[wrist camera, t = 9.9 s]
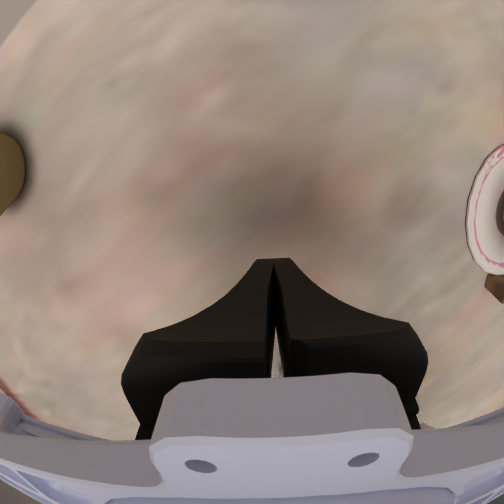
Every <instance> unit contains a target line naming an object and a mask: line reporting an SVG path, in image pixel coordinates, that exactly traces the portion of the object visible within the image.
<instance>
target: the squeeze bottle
mask: <svg viewBox="0 0 504 504" xmlns="http://www.w3.org/2000/svg"><path fill="white" fill-rule="evenodd" d="M24 177H25V164H24V157H23V154H22V151H21V148H20V146H19V145H18V144H17V142H16V141H15V139H14V138H12V137H10V136H8V135H5V134H2V133H0V216H1V215H2V213H3V212H4V211H5V210H6V209H7V207H8V206H9V205H10V204H11V203H12V202H13V200H14V199H15V198H16V197H17V196H18V194H19V192H20V190H21V189H22V187H23V182H24Z"/></svg>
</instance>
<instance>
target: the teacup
mask: <svg viewBox="0 0 504 504" xmlns="http://www.w3.org/2000/svg"><path fill="white" fill-rule="evenodd" d="M503 191H504V145H502V146H499V147H498V148H497V149H496V150H495V151H494V152H493V153H492V154H491V155H489V156H488V157H487V158H486V160H485V161H484V163H483V165H482V167H481V168H480V170H479V172H478V174H477V175H476V177H475V180H474V183H473V187H472V190H471V193H470V196H469V199H468V207H467V216H466V232H467V242H468V246H469V249H470V251H471V254H472V256H473V259H474V261H475V262H476V263H477V264H478V265H479V266H480V267H481V268H482V269H483V270H484V271H485V272H488V273H491V274H494V275H503V274H504V235H502V234H501V233H500V231H499V230H498V227H497V224H496V208H497V204H498V201H499V198H500V196H501V194H502V193H503ZM503 219H504V210H503Z"/></svg>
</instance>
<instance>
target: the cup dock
mask: <svg viewBox="0 0 504 504" xmlns="http://www.w3.org/2000/svg"><path fill="white" fill-rule="evenodd" d="M485 287H486V288H487V289H488V290H489V291H490V292H491V293H492V294H493V295H494V296H495V297H496V298H497V299H498V300H499V301H500V302H501V303H504V274H503V275H494V274H489V275H488V276H487V279H486V283H485Z"/></svg>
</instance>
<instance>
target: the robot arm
mask: <svg viewBox="0 0 504 504" xmlns="http://www.w3.org/2000/svg"><path fill="white" fill-rule="evenodd" d="M275 327H276V332H277V338H278V344H279V351H280V357H281V363H282V377H278V378H271V370H272V360H273V350H274V339H275ZM427 366H428V356H427V352H426V350H425V348H424V346H423V345H422V343H421V341H420V339H419V337H418V335H417V334H416V332H415V331H414V330H413V328H412V327H411V325H410V324H409V323H407V322H403V321H398V320H393V319H388V318H384V317H380V316H377V315H374V314H370V313H367V312H365V311H362V310H359V309H357V308H355V307H352V306H350V305H348V304H346V303H344V302H342V301H340V300H338V299H337V298H335V297H333V296H332V295H330V294H328V293H327V292H325V291H324V290H323V289H321V288H320V287H319V286H317V285H316V284H315V283H314V282H312V281H311V280H310V279H309V278H308V277H307V276H306V275H305V274H304V273H303V272H302V271H301V270H300V269H299V268H298V266H297V265H296V264H295V263H294V262H293V261H292V260H291V259H290V258H275V259H257V260H256V261H255V262H254V263H253V264H252V266H251V267H250V269H249V270H248V271H247V273H246V274H245V275H244V276H243V278H242V279H241V280H240V281H239V282H238V283H237V284H236V285H235V286H234V287H233V288H232V289H231V290H230V291H229V292H228V293H227V294H226V295H225V296H224V297H222V298H221V299H220V300H218V301H217V302H216V303H214V304H213V305H211V306H210V307H208V308H206V309H205V310H203V311H201V312H199V313H198V314H196V315H194V316H192V317H190V318H188V319H186V320H183V321H181V322H178V323H176V324H173V325H171V326H168V327H165V328H161V329H158V330H155V331H151V332H148V333H144V334H143V335H142V337H141V338H140V340H139V341H138V343H137V345H136V346H135V348H134V350H133V352H132V354H131V356H130V359H129V361H128V363H127V365H126V367H125V369H124V371H123V373H122V378H121V385H122V388H123V391H124V394H125V396H126V398H127V400H128V402H129V404H130V406H131V408H132V410H133V411H134V413H135V415H136V417H137V419H138V421H139V423H140V427H139V430H138V432H137V435H136V438H135V440H127V441H111V440H106V439H102V438H98V437H94V436H90V435H86V434H82V433H78V432H75V431H71V430H68V429H65V428H61V427H58V426H55V425H52V424H49V423H46V422H43V421H40V420H37V419H34V418H32V417H29V416H26V415H24V414H23V412H22V410H21V409H20V407H19V406H18V405H17V404H16V402H15V401H14V400H12V399H11V398H10V397H8V396H6V395H4V394H1V393H0V479H1V480H3V481H4V482H6V483H8V484H9V485H11V486H13V487H15V488H16V489H18V490H19V491H21V492H23V493H25V494H26V495H28V496H30V497H32V498H34V499H35V500H38V501H39V502H41V503H43V504H486V503H488V502H490V501H491V500H493V499H495V498H497V497H498V496H500V495H502V494H503V493H504V407H503V408H501V409H499V410H496V411H494V412H491V413H489V414H486V415H484V416H481V417H478V418H475V419H473V420H470V421H467V422H464V423H461V424H458V425H455V426H452V427H449V428H443V429H435V428H433V427H431V426H428V425H426V424H425V423H422V424H419V422H418V419H417V416H416V414H418V412H419V407H418V404H417V402H416V399H415V397H416V395H417V393H418V390H419V388H420V386H421V383H422V381H423V378H424V376H425V373H426V370H427Z"/></svg>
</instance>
